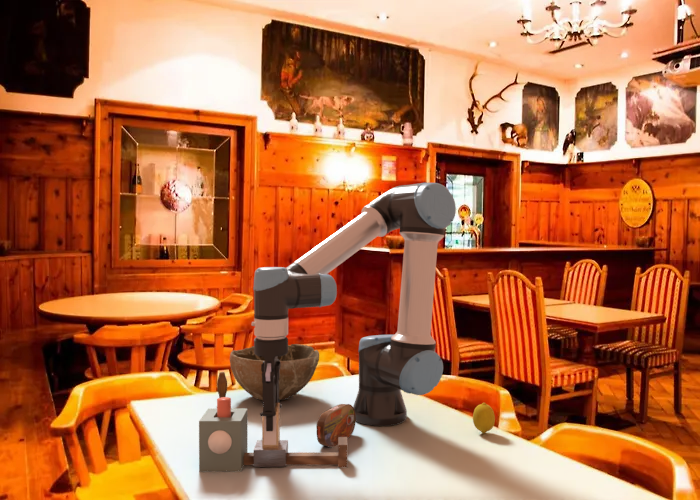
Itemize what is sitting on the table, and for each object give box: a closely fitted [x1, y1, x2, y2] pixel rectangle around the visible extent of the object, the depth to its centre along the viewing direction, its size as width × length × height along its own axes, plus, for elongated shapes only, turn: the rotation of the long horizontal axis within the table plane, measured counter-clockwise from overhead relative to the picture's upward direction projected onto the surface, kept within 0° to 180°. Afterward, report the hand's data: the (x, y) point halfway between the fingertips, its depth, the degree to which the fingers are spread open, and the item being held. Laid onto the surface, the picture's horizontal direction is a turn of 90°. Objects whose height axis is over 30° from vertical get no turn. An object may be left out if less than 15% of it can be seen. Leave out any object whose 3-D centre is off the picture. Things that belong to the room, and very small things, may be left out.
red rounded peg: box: [216, 396, 232, 417], centre depth 131 cm, size 3×3×8 cm
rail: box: [243, 437, 348, 468], centre depth 132 cm, size 23×5×5 cm, turn 91°
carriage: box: [253, 402, 289, 468], centre depth 132 cm, size 7×6×13 cm
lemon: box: [472, 402, 496, 434], centre depth 152 cm, size 6×6×8 cm
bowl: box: [229, 343, 320, 401], centre depth 182 cm, size 28×27×15 cm
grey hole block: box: [198, 407, 248, 473], centre depth 131 cm, size 9×9×11 cm
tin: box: [316, 403, 357, 448], centre depth 146 cm, size 15×3×8 cm, turn 149°
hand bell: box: [216, 371, 228, 398], centre depth 150 cm, size 8×8×16 cm
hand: (271, 440), depth 132 cm, fingers closed on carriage, 3 cm apart
